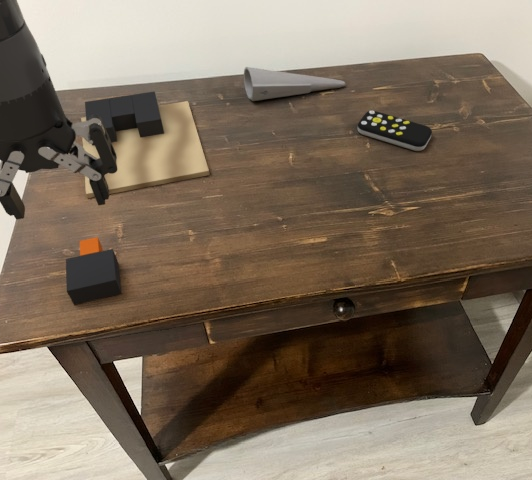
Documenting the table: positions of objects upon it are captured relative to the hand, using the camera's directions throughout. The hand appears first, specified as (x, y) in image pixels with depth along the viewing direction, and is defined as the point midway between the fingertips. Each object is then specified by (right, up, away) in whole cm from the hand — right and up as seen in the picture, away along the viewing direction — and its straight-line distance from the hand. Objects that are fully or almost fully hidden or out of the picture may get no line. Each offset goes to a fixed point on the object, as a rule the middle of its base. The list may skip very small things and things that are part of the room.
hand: (62, 206), depth 60 cm
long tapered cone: (+24, +26, +45) cm, 58 cm away
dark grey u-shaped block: (-5, +17, +34) cm, 38 cm away
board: (-1, +12, +31) cm, 34 cm away
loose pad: (-1, -9, +12) cm, 15 cm away
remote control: (+42, +15, +36) cm, 57 cm away
